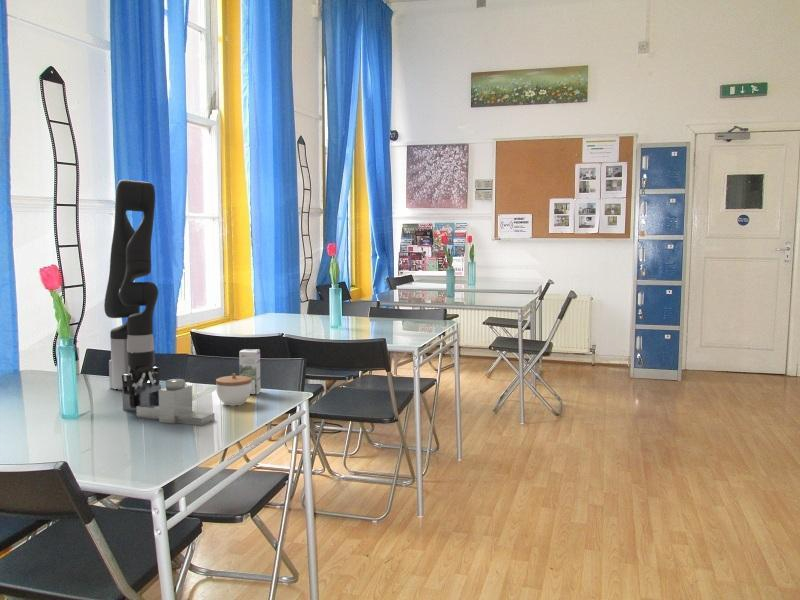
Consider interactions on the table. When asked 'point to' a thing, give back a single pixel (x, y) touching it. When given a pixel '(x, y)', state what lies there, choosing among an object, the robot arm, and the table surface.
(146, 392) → the coupler lock
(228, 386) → the lidded jar
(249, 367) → the syrup box
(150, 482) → the table surface
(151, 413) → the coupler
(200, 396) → the table surface
